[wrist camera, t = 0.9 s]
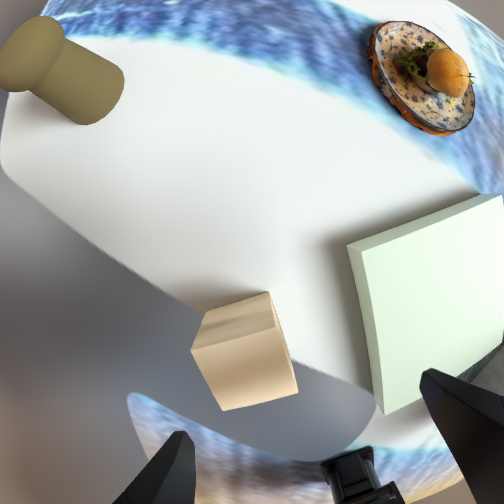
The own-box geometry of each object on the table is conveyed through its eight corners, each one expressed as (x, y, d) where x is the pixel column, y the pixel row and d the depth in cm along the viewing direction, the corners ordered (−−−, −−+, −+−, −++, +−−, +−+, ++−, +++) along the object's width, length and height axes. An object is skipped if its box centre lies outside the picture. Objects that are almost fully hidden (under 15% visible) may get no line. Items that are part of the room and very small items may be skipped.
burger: (469, 75, 16) (512, 56, 9) (455, 161, 18) (513, 154, 11) (378, 9, 16) (408, -31, 8) (347, 87, 17) (387, 42, 10)
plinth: (486, 332, 21) (501, 342, 18) (373, 397, 22) (384, 415, 19) (481, 193, 18) (501, 194, 15) (345, 244, 19) (360, 252, 16)
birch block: (287, 346, 21) (298, 392, 15) (229, 362, 21) (222, 411, 15) (268, 291, 20) (275, 326, 14) (206, 310, 20) (190, 350, 14)
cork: (137, 80, 17) (65, 10, 6) (90, 138, 18) (-7, 107, 7) (100, 54, 16) (33, -3, 5) (58, 106, 17) (-24, 74, 6)
